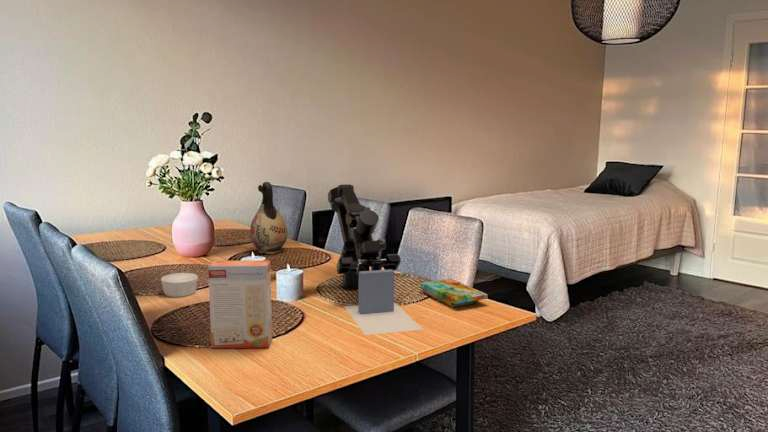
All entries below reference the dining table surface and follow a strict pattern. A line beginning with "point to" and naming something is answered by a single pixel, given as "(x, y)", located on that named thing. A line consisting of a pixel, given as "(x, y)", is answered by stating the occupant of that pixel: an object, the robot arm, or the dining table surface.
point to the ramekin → (179, 284)
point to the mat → (383, 321)
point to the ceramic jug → (268, 224)
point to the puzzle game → (452, 292)
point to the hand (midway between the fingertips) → (373, 288)
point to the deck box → (376, 291)
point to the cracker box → (240, 304)
